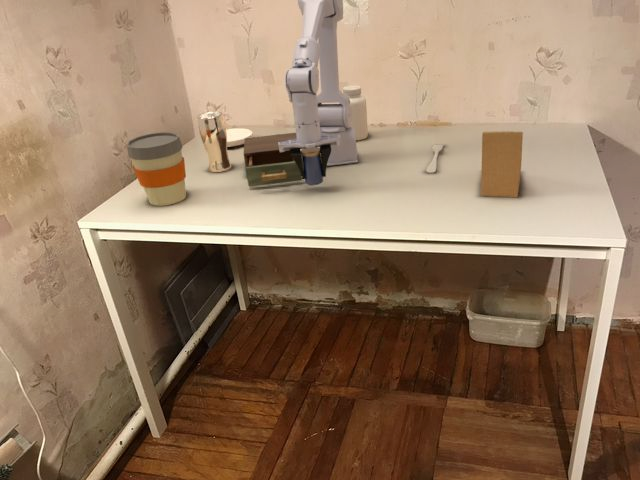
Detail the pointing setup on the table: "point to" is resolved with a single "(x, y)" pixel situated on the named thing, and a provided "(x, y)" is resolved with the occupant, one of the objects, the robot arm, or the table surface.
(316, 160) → the jar
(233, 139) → the plastic lid
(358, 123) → the pill bottle
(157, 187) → the reusable coffee cup
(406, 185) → the table surface
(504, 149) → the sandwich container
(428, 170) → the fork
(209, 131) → the beer glass
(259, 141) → the cabinet
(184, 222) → the table surface
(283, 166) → the drawer
